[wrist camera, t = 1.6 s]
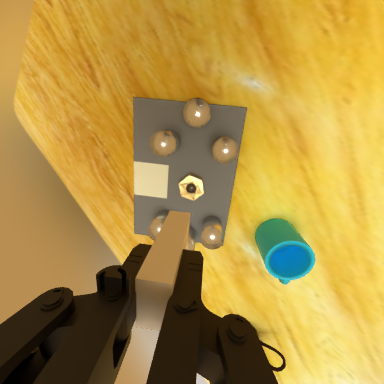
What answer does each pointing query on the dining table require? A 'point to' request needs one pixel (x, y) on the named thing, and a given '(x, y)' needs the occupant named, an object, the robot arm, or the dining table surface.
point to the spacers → (223, 153)
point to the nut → (191, 187)
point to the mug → (284, 250)
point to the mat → (182, 163)
